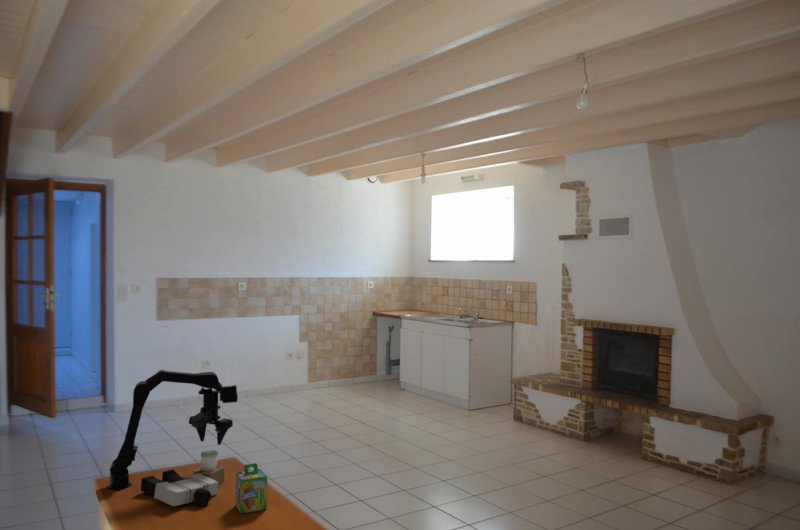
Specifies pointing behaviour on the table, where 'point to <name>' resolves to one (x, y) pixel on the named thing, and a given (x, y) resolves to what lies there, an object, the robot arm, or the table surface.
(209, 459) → the beaker
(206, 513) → the table surface
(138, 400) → the robot arm
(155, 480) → the toy
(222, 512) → the table surface
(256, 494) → the chalk box
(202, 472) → the beige box
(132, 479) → the table surface
